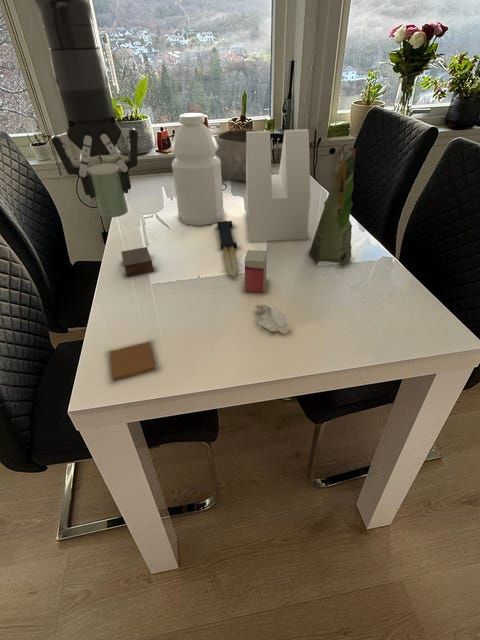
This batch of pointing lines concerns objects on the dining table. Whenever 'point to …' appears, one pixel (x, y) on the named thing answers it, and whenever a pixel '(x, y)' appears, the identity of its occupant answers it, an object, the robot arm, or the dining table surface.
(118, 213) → the tumbler
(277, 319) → the tissue
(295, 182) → the white slotted block
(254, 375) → the dining table surface
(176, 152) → the bottle
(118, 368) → the coaster
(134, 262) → the walnut wood block
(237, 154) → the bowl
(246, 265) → the small box
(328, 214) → the pouch
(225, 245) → the knife
